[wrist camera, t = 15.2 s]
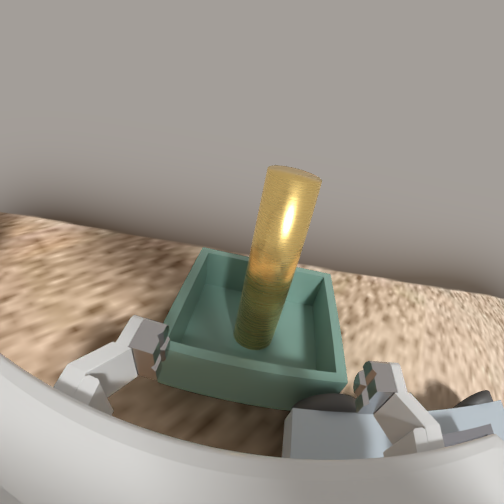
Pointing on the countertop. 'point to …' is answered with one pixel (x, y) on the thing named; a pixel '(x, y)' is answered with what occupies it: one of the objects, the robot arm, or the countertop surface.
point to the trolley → (376, 427)
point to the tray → (245, 360)
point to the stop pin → (274, 252)
